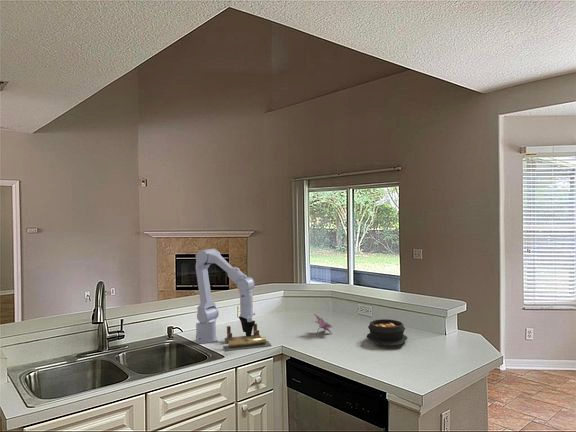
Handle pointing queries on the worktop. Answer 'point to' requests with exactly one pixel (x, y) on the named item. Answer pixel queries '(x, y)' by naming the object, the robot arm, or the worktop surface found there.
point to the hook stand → (230, 338)
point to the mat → (246, 347)
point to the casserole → (386, 332)
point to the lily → (323, 324)
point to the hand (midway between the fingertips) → (247, 334)
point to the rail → (247, 342)
